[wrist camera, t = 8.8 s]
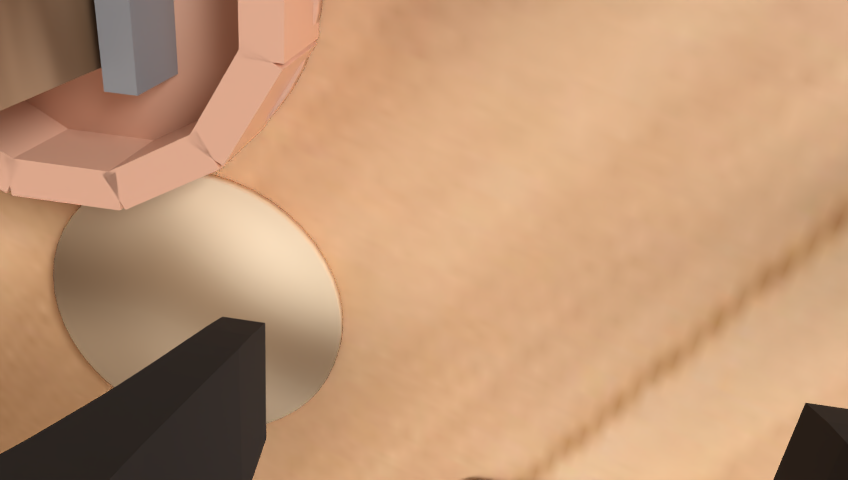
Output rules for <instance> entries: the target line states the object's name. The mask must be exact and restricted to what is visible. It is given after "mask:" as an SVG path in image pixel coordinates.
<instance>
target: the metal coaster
mask: <svg viewBox="0 0 848 480" xmlns="http://www.w3.org/2000/svg"><path fill="white" fill-rule="evenodd" d="M53 279H54V291H55V296H56V300H57V305H58V309H59V311H60V314H61V317H62V320H63V322H64V325H65V327H66V329H67V331H68V333H69V335H70V336H71V338H72V340H73V342H74V343H75V345H76V346H77V348H78V349H79V351H80V352H81V354H82V355H83V356H84V358H85V359H86V360H87V361H88V362H89V364H90V365H91V366H92V367H93V368H94V369H95V370H96V371H97V372H98V373H99V374H100V375H101V376H102V377H103V378H104V379H105V380H106V381H107V382H108V383H109V384H111V385H112V386H113V387H116V386H117V385H119V384H120V383H122V382H124V381H125V380H127V379H128V378H130V377H131V376H133V375H134V374H136V373H137V372H139V371H140V370H142V369H144V368H145V367H147V366H148V365H150V364H151V363H153V362H154V361H156V360H157V359H159V358H160V357H162V356H163V355H165V354H166V353H168V352H169V351H171V350H172V349H174V348H175V347H177V346H178V345H180V344H181V343H183V342H184V341H185V340H187V339H188V338H190V337H191V336H193V335H194V334H196V333H197V332H199V331H200V330H202V329H203V328H205V327H206V326H208V325H209V324H211V323H213V322H214V321H216V320H217V319H219V318H221V317H229V318H236V319H242V320H249V321H256V322H263V323H265V345H266V424H267V423H270V422H273V421H275V420H278V419H281V418H283V417H285V416H287V415H288V414H290V413H292V412H294V411H296V410H297V409H299V408H300V407H301V406H303V405H304V404H305V403H307V402H308V401H309V400H310V399H311V398H312V397H313V396H314V395H315V394H316V393H317V392H318V391H319V389H320V388H321V386H322V385H323V384H324V382H325V381H326V379H327V378H328V376H329V374H330V371H331V369H332V367H333V365H334V363H335V360H336V358H337V354H338V351H339V348H340V344H341V339H342V331H343V310H342V305H341V299H340V293H339V290H338V287H337V284H336V281H335V278H334V276H333V273H332V271H331V269H330V267H329V265H328V263H327V261H326V259H325V258H324V256H323V254H322V253H321V251H320V250H319V248H318V247H317V245H316V243H315V242H314V241H313V240H312V239H311V237H310V236H309V235H308V234H307V233H306V231H305V230H304V229H303V228H302V227H301V226H300V225H299V224H298V223H297V222H296V221H295V220H294V219H293V218H292V217H291V216H290V215H289V214H288V213H286V212H285V211H284V210H282V209H281V208H280V207H278V206H277V205H276V204H274V203H273V202H272V201H270V200H269V199H267V198H265V197H264V196H262V195H260V194H259V193H257V192H255V191H254V190H252V189H249V188H247V187H245V186H243V185H241V184H238V183H236V182H234V181H231V180H228V179H225V178H222V177H219V176H216V175H212V174H208V175H205V176H203V177H201V178H198V179H196V180H194V181H192V182H189V183H187V184H185V185H182V186H180V187H178V188H175V189H173V190H171V191H168V192H166V193H164V194H161V195H159V196H157V197H154V198H152V199H150V200H147V201H145V202H143V203H140V204H138V205H136V206H133V207H131V208H129V209H126V210H125V209H124V208H123V209H121V210H113V209H105V208H98V207H91V206H84V205H82V206H81V207H80V208H79V209H78V210H77V211H76V212H75V214H74V215H73V216H72V217H71V219H70V220H69V222H68V224H67V225H66V227H65V228H64V230H63V232H62V235H61V237H60V240H59V242H58V245H57V249H56V254H55V258H54V271H53Z"/></svg>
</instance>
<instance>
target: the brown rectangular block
mask: <svg viewBox="0 0 848 480" xmlns="http://www.w3.org/2000/svg"><path fill="white" fill-rule="evenodd" d="M99 68H101V59H100V49H99V40H98V31H97V21H96V12H95V3H94V0H0V111H1V110H4V109H6V108H8V107H11V106H13V105H15V104H18V103H20V102H22V101H25V100H27V99H29V98H32V97H34V96H36V95H38V94H41V93H43V92H45V91H48V90H50V89H52V88H55V87H57V86H59V85H62V84H64V83H66V82H69V81H71V80H73V79H76V78H78V77H80V76H83V75H85V74H87V73H90V72H92V71H94V70H97V69H99Z"/></svg>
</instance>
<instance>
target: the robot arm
mask: <svg viewBox="0 0 848 480" xmlns="http://www.w3.org/2000/svg"><path fill="white" fill-rule="evenodd" d="M265 440H266V345H265V323H263V322H256V321H249V320H242V319H236V318H229V317H221V318H219V319H217V320H216V321H214V322H213V323H211V324H209V325H208V326H206V327H205V328H203V329H202V330H200V331H199V332H197V333H196V334H194V335H193V336H191V337H190V338H188V339H187V340H185V341H184V342H183V343H181V344H180V345H178V346H177V347H175V348H174V349H172V350H171V351H169V352H168V353H166V354H165V355H163V356H162V357H160V358H159V359H157V360H156V361H154V362H153V363H151V364H150V365H148V366H147V367H145V368H144V369H142V370H140V371H139V372H137V373H136V374H134V375H133V376H131V377H130V378H128V379H127V380H125V381H124V382H122V383H120V384H119V385H117V386H116V387H114V388H113V389H111V390H110V391H108V392H107V393H105V394H103V395H102V396H100V397H99V398H97V399H95V400H93V401H92V402H90V403H88V404H87V405H85V406H83V407H82V408H80V409H78V410H76V411H75V412H73V413H71V414H70V415H68V416H66V417H65V418H63V419H61V420H59V421H58V422H56V423H54V424H53V425H51V426H49V427H48V428H46V429H44V430H43V431H41V432H39V433H37V434H36V435H34V436H32V437H31V438H29V439H27V440H25V441H24V442H22V443H20V444H18V445H16V446H14V447H13V448H11V449H9V450H7V451H5V452H3V453H1V454H0V480H252V478H253V475H254V473H255V470H256V467H257V464H258V461H259V458H260V455H261V452H262V449H263V446H264V443H265ZM774 480H848V409H844V408H837V407H830V406H823V405H817V404H810V403H805V406H804V408H803V410H802V413H801V415H800V418H799V420H798V422H797V425H796V427H795V430H794V432H793V434H792V437H791V439H790V441H789V444H788V446H787V449H786V451H785V453H784V456H783V458H782V461H781V463H780V465H779V468H778V470H777V472H776V475H775V477H774Z"/></svg>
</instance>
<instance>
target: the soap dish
mask: <svg viewBox="0 0 848 480" xmlns="http://www.w3.org/2000/svg"><path fill="white" fill-rule="evenodd" d="M94 3H95V12H96V21H97V31H98V40H99V49H100V59H101V68H99V69H97V70H94V71H92V72H90V73H87V74H85V75H83V76H80V77H78V78H76V79H73V80H71V81H69V82H66V83H64V84H62V85H59V86H57V87H55V88H52V89H50V90H48V91H45V92H43V93H41V94H38V95H36V96H34V97H32V98H29V99H27V100H25V101H22V102H20V103H18V104H15V105H13V106H11V107H8V108H6V109H4V110H1V111H0V190H2V191H3V192H5V193H8V192H9V191H11V194H12V196H19V197H27V198H34V199H41V200H48V201H55V202H62V203H70V204H77V205H84V206H91V207H98V208H105V209H113V210H121V209H123V208H124V209H125V210H126V209H129V208H131V207H133V206H136V205H138V204H140V203H143V202H145V201H147V200H150V199H152V198H154V197H157V196H159V195H161V194H164V193H166V192H168V191H171V190H173V189H175V188H178V187H180V186H182V185H185V184H187V183H189V182H192V181H194V180H196V179H198V178H201V177H203V176H205V175H208V174H210V173H212V172H215V171H217V170H219V169H220V168H222V167H223V166H224V165H225V164H226V163H227V162H228V161H229V160H230V159H231V158H233V157H234V156H235V155H236V154H237V153H238V152H239V151H240V150H241V149H242V148H243V147H244V146H245V145H246V144H247V143H248V142H250V141H251V140H252V139H253V138H254V137H255V136H256V135H257V134H258V133H259V132H260V131H261V130H262V129H263V128H264V127H265V126H266V124H267V122H268V121H269V119H270V118H271V116H272V115H273V114H274V113H275V112H276V111H277V110H278V109H279V108H280V106H281V105H282V103H283V102H284V101H285V99H286V98H287V97H288V95H289V94H290V93H291V91H292V90H293V88H294V86H295V85H296V83H297V81H298V79H299V77H300V75H301V73H302V71H303V70H304V68H305V66H306V63H307V60H308V58H309V56H310V54H311V52H312V51H313V49H314V48H315V46H316V44H317V43H316V42H315V40H317V39H318V38H319V20H320V16H321V11H322V0H94Z"/></svg>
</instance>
